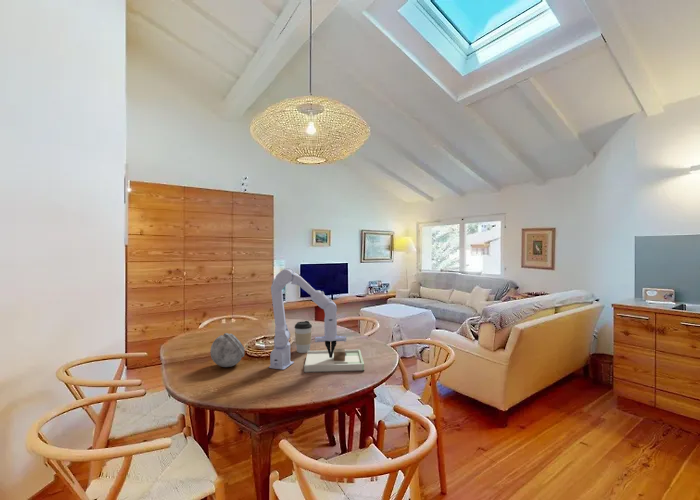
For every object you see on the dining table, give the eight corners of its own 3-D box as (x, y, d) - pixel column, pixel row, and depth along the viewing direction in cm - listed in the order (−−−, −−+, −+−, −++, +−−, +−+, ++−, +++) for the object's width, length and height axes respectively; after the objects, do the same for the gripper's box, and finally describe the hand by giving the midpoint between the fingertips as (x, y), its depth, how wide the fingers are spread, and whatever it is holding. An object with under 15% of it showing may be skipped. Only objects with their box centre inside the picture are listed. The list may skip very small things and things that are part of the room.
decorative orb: (249, 366, 145) (249, 333, 145) (217, 375, 136) (216, 339, 136) (237, 358, 156) (236, 327, 156) (206, 365, 147) (205, 333, 147)
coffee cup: (303, 354, 161) (303, 325, 161) (290, 351, 166) (290, 322, 166) (315, 350, 168) (315, 321, 168) (303, 347, 173) (303, 319, 173)
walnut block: (333, 360, 146) (334, 352, 146) (333, 357, 151) (333, 348, 151) (344, 360, 147) (345, 352, 147) (344, 357, 152) (344, 348, 152)
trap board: (304, 372, 138) (304, 365, 138) (307, 356, 158) (307, 350, 158) (364, 371, 139) (364, 364, 139) (360, 355, 159) (360, 349, 159)
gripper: (314, 330, 144) (314, 360, 144) (346, 329, 145) (346, 359, 145) (315, 326, 151) (315, 355, 151) (345, 325, 152) (346, 354, 152)
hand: (330, 357), depth 149 cm, fingers closed
